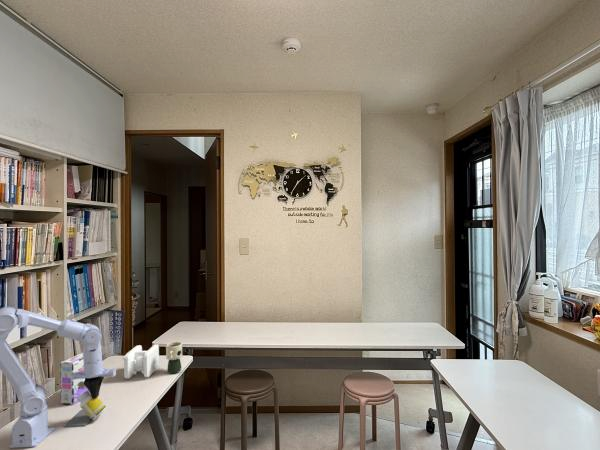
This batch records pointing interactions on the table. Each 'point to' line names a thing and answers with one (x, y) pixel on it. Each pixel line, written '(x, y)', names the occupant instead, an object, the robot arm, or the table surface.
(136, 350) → the cable organizer
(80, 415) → the mat
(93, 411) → the supplement bottle
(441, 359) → the table surface
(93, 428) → the table surface
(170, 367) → the character mug
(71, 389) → the candy box
